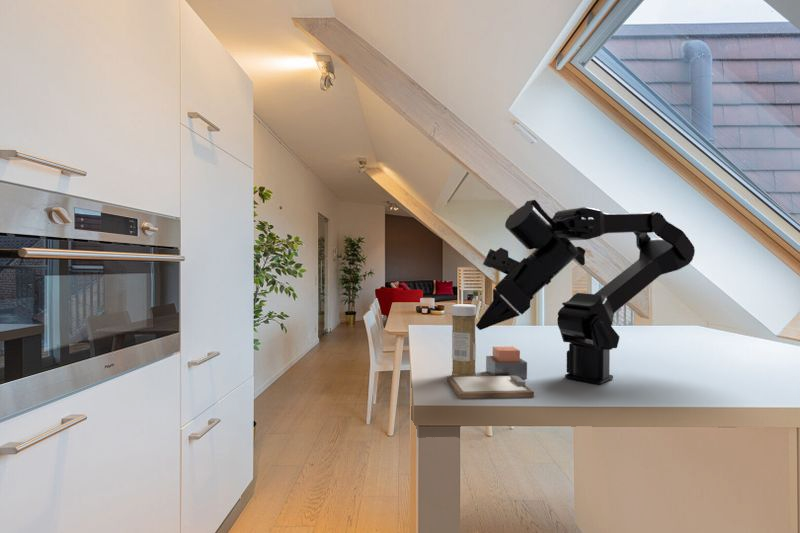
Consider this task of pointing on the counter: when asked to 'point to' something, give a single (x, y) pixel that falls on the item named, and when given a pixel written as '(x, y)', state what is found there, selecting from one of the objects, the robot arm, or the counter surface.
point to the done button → (506, 354)
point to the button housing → (506, 368)
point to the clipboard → (489, 387)
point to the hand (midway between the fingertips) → (479, 324)
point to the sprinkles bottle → (463, 340)
